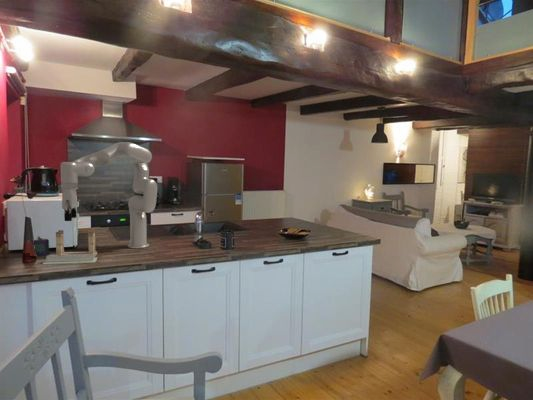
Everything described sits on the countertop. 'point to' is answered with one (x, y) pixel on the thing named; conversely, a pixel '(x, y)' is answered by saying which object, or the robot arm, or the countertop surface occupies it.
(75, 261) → the mat
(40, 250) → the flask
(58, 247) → the rack
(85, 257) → the rail
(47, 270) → the countertop surface
